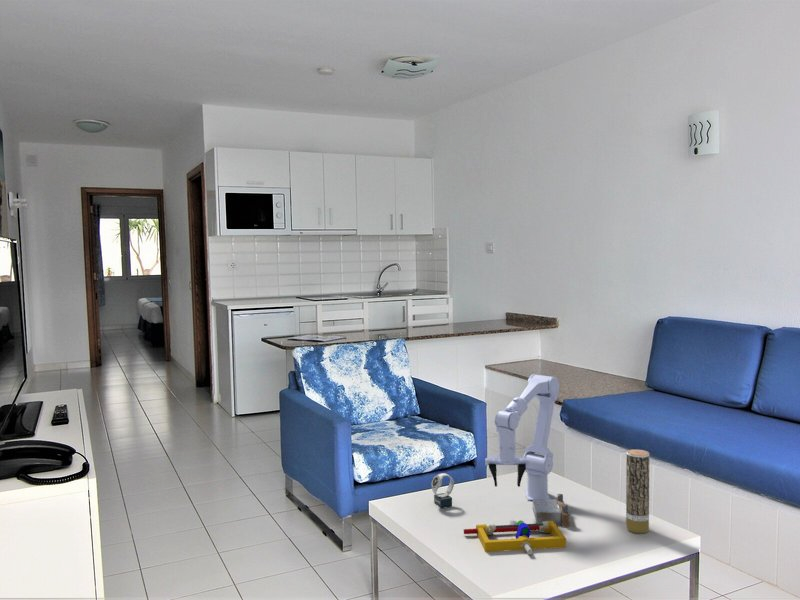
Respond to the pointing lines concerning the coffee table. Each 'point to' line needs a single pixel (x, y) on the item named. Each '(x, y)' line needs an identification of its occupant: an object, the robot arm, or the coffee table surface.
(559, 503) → the bench stop
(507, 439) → the robot arm
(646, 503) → the brown bark patterned canister
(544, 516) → the grey metal block
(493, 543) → the mechanical clamp
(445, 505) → the watch
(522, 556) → the coffee table surface
